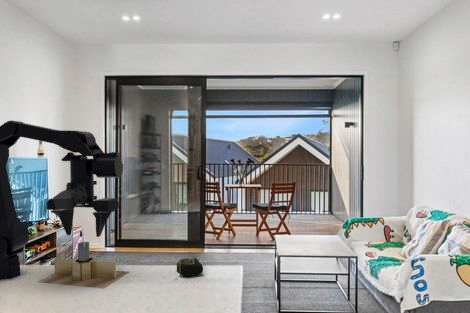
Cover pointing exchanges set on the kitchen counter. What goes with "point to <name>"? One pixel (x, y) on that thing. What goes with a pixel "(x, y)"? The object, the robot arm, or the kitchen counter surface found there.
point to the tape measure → (189, 267)
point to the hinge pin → (83, 252)
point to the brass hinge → (85, 269)
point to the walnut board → (87, 283)
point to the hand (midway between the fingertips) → (83, 235)
